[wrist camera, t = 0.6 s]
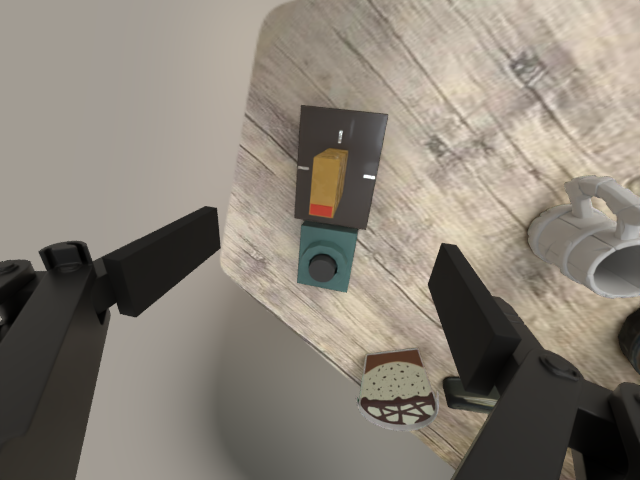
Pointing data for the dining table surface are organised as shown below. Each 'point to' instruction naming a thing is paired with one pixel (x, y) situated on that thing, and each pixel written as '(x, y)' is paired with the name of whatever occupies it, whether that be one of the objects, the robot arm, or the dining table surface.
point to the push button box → (327, 252)
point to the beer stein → (631, 339)
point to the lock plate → (362, 164)
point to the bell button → (322, 268)
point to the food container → (397, 391)
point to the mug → (593, 237)
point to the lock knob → (327, 182)
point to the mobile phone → (468, 397)
